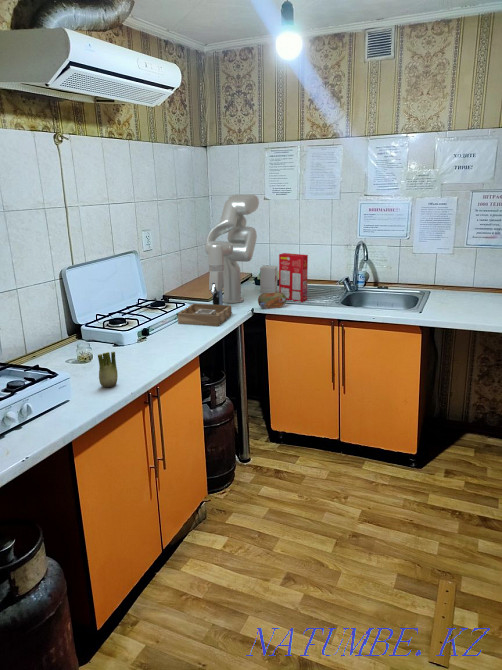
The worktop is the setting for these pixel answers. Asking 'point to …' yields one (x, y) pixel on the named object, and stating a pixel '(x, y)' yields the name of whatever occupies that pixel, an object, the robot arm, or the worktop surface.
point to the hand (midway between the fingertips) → (217, 303)
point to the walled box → (204, 314)
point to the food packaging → (293, 276)
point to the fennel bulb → (107, 369)
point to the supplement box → (268, 279)
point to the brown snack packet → (272, 300)
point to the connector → (220, 297)
